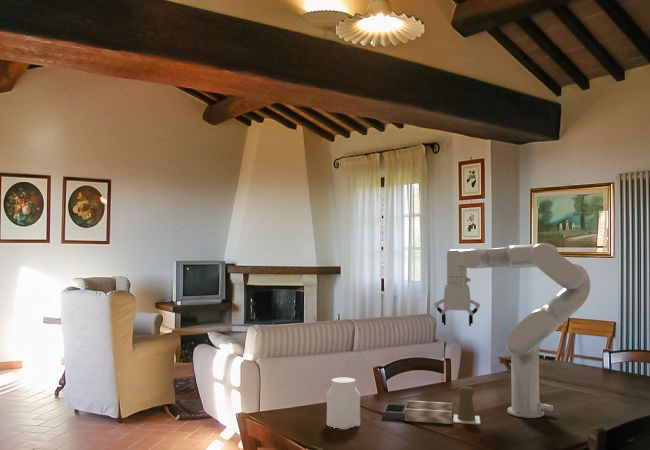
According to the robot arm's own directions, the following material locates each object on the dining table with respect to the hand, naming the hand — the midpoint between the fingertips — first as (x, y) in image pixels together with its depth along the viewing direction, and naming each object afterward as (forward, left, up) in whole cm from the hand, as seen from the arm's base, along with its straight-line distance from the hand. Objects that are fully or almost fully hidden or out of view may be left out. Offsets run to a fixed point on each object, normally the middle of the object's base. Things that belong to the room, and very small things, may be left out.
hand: (457, 325), depth 227 cm
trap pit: (+22, +21, -30) cm, 43 cm away
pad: (-3, +21, -30) cm, 37 cm away
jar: (+38, +36, -31) cm, 61 cm away
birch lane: (+10, +21, -30) cm, 38 cm away
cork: (-3, +21, -30) cm, 37 cm away
